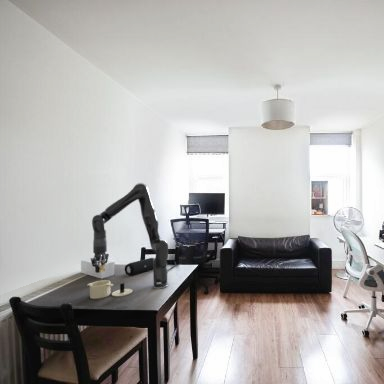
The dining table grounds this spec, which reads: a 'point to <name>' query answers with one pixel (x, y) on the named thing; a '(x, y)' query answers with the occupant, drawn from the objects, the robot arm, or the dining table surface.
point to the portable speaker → (139, 266)
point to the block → (101, 268)
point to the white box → (90, 270)
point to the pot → (100, 289)
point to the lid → (122, 291)
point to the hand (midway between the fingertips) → (100, 271)
